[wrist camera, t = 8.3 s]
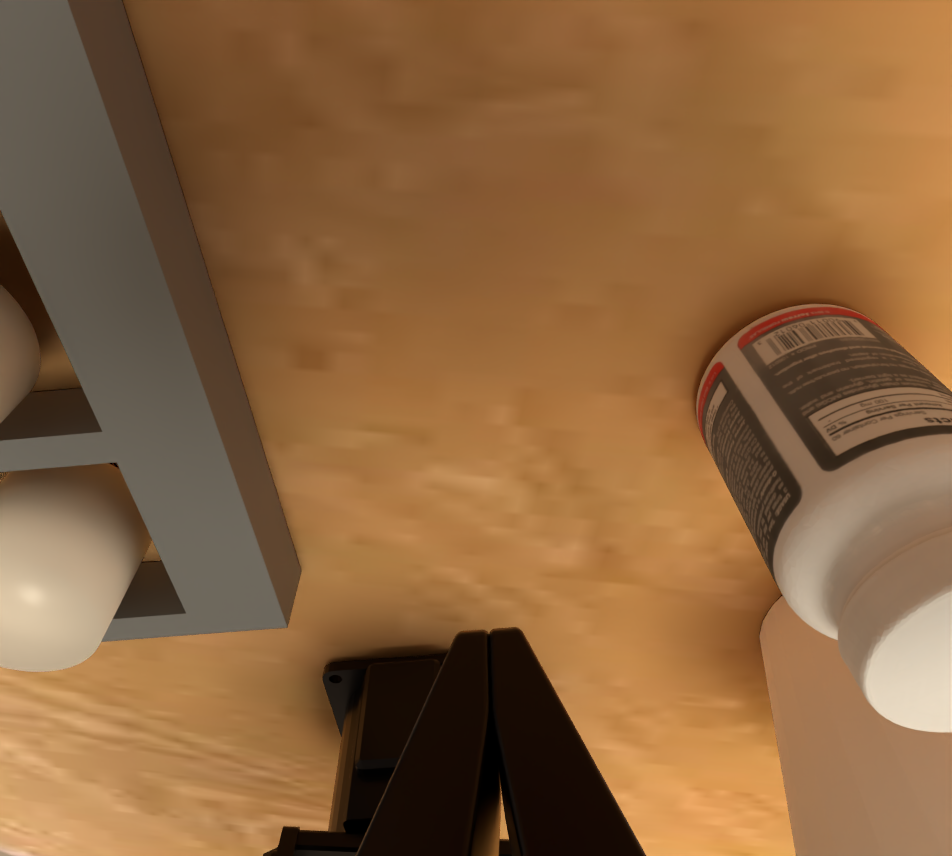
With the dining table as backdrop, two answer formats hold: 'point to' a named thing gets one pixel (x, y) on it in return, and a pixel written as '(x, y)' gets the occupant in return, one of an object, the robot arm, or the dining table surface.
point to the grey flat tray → (133, 327)
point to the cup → (849, 755)
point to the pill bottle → (845, 492)
